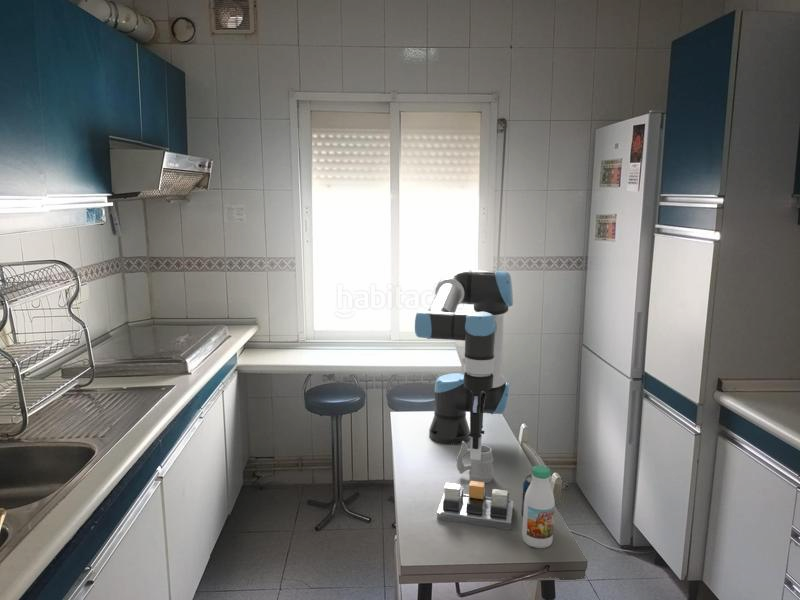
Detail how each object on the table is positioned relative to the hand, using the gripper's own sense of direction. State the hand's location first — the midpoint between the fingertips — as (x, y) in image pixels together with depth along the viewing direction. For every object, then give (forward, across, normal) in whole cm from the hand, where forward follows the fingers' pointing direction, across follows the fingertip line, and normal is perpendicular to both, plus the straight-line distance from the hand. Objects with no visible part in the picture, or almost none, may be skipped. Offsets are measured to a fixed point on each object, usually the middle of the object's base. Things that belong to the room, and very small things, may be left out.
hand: (475, 458), depth 154 cm
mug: (+20, -28, -3) cm, 34 cm away
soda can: (+20, -8, +16) cm, 27 cm away
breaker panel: (+20, -7, 0) cm, 21 cm away
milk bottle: (+20, +2, +17) cm, 26 cm away
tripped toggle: (+14, -7, 0) cm, 16 cm away
